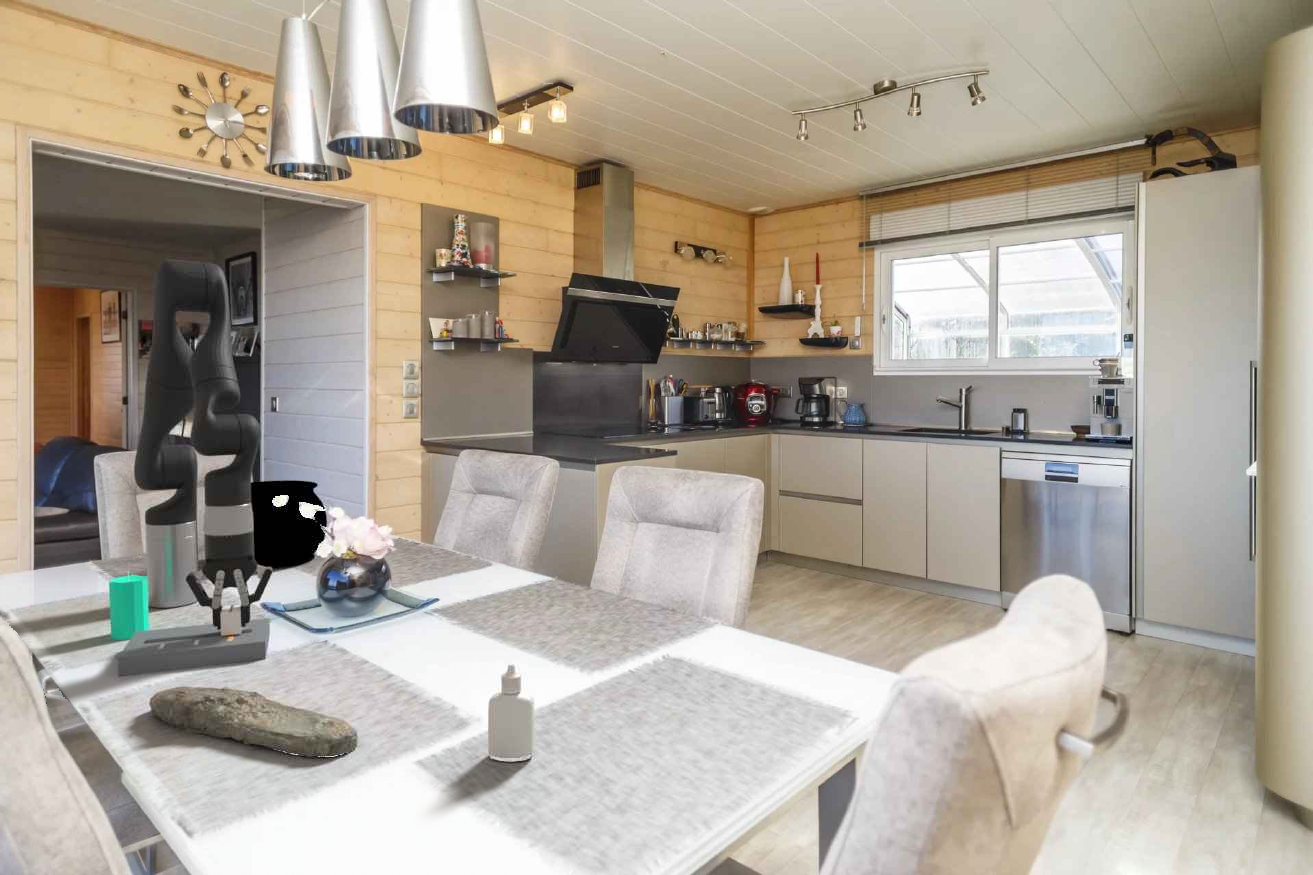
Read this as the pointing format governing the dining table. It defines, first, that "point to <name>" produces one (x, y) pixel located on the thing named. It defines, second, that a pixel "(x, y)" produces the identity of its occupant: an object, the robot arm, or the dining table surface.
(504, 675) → the eye dropper bottle
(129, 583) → the candle
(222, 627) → the fader
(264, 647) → the fader console
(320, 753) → the long grey stone
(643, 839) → the dining table surface
